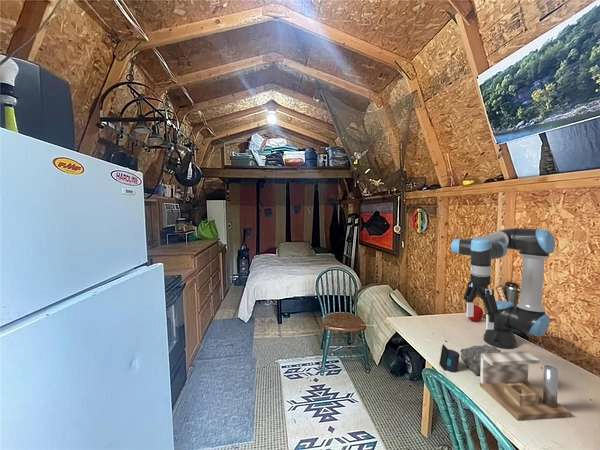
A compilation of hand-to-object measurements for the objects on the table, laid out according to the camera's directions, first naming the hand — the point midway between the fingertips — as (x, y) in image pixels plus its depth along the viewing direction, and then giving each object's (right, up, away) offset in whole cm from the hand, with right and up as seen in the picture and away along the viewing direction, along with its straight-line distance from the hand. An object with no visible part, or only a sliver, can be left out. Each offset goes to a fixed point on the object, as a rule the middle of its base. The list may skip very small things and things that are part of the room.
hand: (479, 322), depth 125 cm
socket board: (+9, -27, -12) cm, 31 cm away
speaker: (-7, -26, +12) cm, 29 cm away
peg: (+16, -25, -17) cm, 34 cm away
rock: (+8, -26, +11) cm, 29 cm away
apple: (+38, -22, +66) cm, 79 cm away
